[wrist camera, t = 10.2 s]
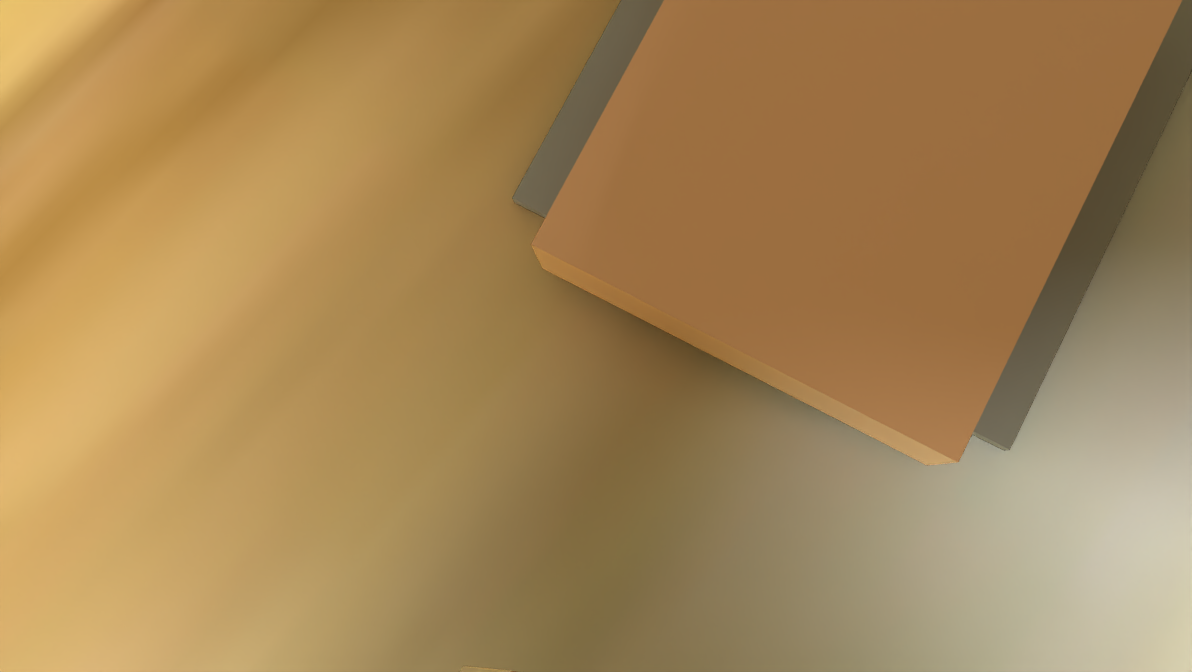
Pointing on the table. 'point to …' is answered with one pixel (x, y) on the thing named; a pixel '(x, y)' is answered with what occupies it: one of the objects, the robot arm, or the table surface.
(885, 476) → the table surface
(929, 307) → the tile
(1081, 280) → the mat
